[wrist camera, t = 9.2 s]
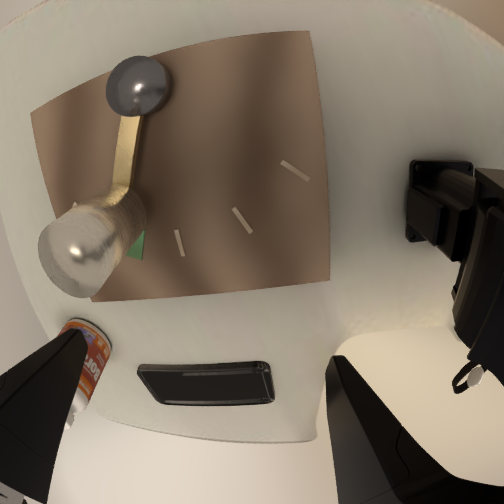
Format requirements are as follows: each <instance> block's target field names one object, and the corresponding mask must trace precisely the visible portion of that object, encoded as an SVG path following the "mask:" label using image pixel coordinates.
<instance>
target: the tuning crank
mask: <svg viewBox="0 0 504 504" xmlns="http://www.w3.org/2000/svg"><path fill="white" fill-rule="evenodd" d="M172 86H173V81H172V76H171V73H170V71H169V70H168V68H167V67H166V66H165V65H164V64H162V63H160V62H158V61H156V60H154V59H151V58H149V57H146V56H134V57H130V58H128V59H125V60H124V61H122V62H121V63H119V64H118V65H117V66H116V67H115V68H114V69H113V71H112V72H111V74H110V76H109V78H108V80H107V84H106V99H107V102H108V104H109V106H110V107H111V109H112V110H113V111H114V112H116V113H117V114H119V115H122V116H121V121H120V127H119V133H118V140H117V147H116V154H115V162H114V171H113V182H112V185H108V186H106V187H104V188H102V189H101V190H99V191H98V192H96V193H94V194H93V195H91V196H90V197H88V198H87V199H85V200H84V201H82V202H81V203H79V204H78V205H76V206H75V207H73V208H72V209H70V210H69V211H68V212H66V213H65V214H63V215H62V216H61V217H59V218H58V219H56V220H55V221H54V222H52V223H51V224H50V225H48V226H47V227H46V228H45V229H44V230H43V231H42V233H41V235H40V237H39V241H38V254H39V258H40V262H41V264H42V267H43V269H44V271H45V272H46V274H47V276H48V277H49V278H50V280H51V281H52V282H53V283H54V284H55V285H56V286H57V287H58V288H59V289H61V290H62V291H64V292H65V293H67V294H69V295H71V296H74V297H78V298H88V297H91V296H93V295H95V294H96V293H97V292H98V291H99V290H100V288H101V287H102V285H103V284H104V283H105V281H106V280H107V278H108V277H109V276H110V274H111V273H112V272H113V270H114V269H115V268H116V266H117V265H118V264H119V262H120V261H122V259H123V258H124V256H125V254H126V253H127V252H128V251H129V249H130V248H131V247H132V245H133V244H134V243H135V242H136V240H137V239H138V238H139V237H140V235H141V234H142V233H143V231H144V229H145V226H146V219H147V217H146V210H145V207H144V204H143V202H142V200H141V199H140V197H139V196H138V195H137V194H136V193H135V192H134V191H133V190H132V189H133V180H134V172H135V165H136V158H137V151H138V145H139V139H140V134H141V128H142V123H143V118H144V116H145V115H149V114H152V113H154V112H156V111H158V110H159V109H160V108H162V107H163V105H164V104H165V103H166V102H167V100H168V99H169V97H170V95H171V91H172Z"/></svg>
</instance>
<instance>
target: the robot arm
mask: <svg viewBox="0 0 504 504" xmlns="http://www.w3.org/2000/svg"><path fill="white" fill-rule="evenodd" d="M417 164H418V169H417V170H416V165H417ZM468 166H469V168H468ZM474 177H475V178H474ZM474 177H473V164H472V163H470V162H468V161H453V160H413V161H412V162H411V165H410V188H409V190H408V202H407V216H406V221H407V230H406V238H407V240H408V241H409V242H420V241H428V242H430V243H431V244H432V245H433V246H437V247H438V248H439V249H440V250H441V251H442V252H443V253H444V254H445V255H446V256H447V257H448V258H449V259H450V260H451V261H452V262H455V261H458V262H459V263H460V264H461V266H460V269H459V273H458V277H457V280H456V284H455V285H454V286H453V289H452V292H451V294H452V297H453V300H454V305H453V310H452V311H453V316H454V322H455V326H454V330H455V331H456V333H457V335H458V337H459V338H460V339H461V340H462V341H463V343H464V344H465V345H466V346H467V347H468V348H469V349H471V350H470V351H469V353H468V355H467V359H468V360H470V361H473V362H475V363H477V364H480V365H482V366H483V367H485V368H486V369H488V370H489V371H490V372H492V373H493V374H494V375H495V376H496V377H497V379H498V380H499V381H500V382H501V384H502V385H503V386H504V170H498V169H485V168H475V174H474ZM412 234H414V235H413V236H412V237H411V235H412ZM87 352H88V343H87V341H86V339H85V337H84V334H83V332H82V331H81V330H80V329H77V328H70V329H68V330H67V331H65V332H64V333H62V334H61V335H59V336H58V337H56V338H55V339H53V340H52V341H50V342H49V343H47V344H46V345H44V346H43V347H41V348H40V349H38V350H37V351H36V352H34V353H33V354H31V355H29V356H28V357H27V358H25V359H24V360H22V361H21V362H19V363H18V364H17V365H15V366H14V367H12V368H11V369H9V370H8V371H7V372H5V373H4V374H2V375H1V376H0V504H27V502H26V500H25V499H24V495H25V496H28V497H29V498H32V499H34V500H36V501H38V502H41V503H43V504H47V500H48V494H49V489H50V483H51V478H52V474H53V469H54V464H55V460H56V456H57V452H58V448H59V444H60V441H61V437H62V434H63V430H64V427H65V423H66V420H67V417H68V414H69V411H70V408H71V405H72V402H73V399H74V396H75V393H76V390H77V387H78V384H79V381H80V378H81V374H82V370H83V366H84V362H85V359H86V355H87ZM325 379H326V403H327V419H328V425H329V432H330V438H331V445H332V453H333V460H334V468H335V476H336V485H337V493H338V502H339V504H504V486H495V485H488V484H483V483H478V482H474V481H469V480H465V479H461V478H458V477H456V476H454V475H452V474H450V473H449V472H448V471H447V470H445V469H444V468H443V467H442V466H441V465H440V464H439V463H438V462H437V461H436V460H435V459H433V458H432V457H431V456H430V455H429V454H428V453H427V452H426V451H425V450H424V449H423V448H422V447H421V446H420V445H419V444H418V443H417V442H416V441H415V440H414V438H413V437H412V436H411V435H410V434H409V433H408V432H407V431H406V429H405V428H404V427H403V426H402V425H401V423H400V422H399V421H398V420H397V418H396V417H395V416H394V415H393V414H392V412H391V411H390V410H389V409H388V408H387V406H386V405H385V404H384V403H383V402H382V400H381V399H380V398H379V397H378V396H377V394H376V393H375V392H374V391H373V390H372V388H371V387H370V386H369V385H368V384H367V383H366V381H365V380H364V379H363V378H362V377H361V375H360V374H359V373H358V372H357V371H356V369H355V368H354V367H353V366H352V364H351V363H350V362H349V361H348V360H347V359H346V357H345V356H343V355H334V356H332V357H331V359H330V361H329V364H328V366H327V369H326V373H325Z"/></svg>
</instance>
